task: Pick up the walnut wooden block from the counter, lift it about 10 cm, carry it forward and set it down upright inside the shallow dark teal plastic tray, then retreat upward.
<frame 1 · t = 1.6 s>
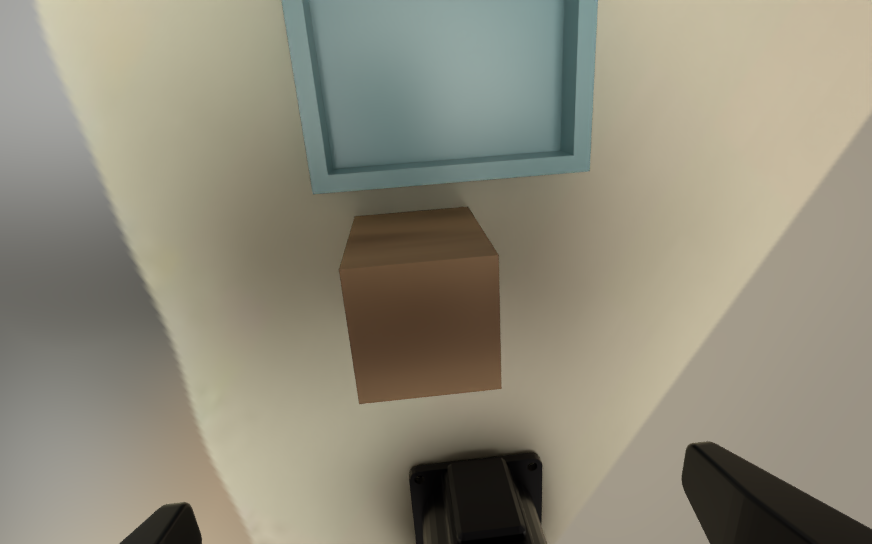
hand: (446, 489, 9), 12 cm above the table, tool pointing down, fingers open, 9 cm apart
walnut block: (416, 264, 20), on the table
teal tray: (439, 34, 17), on the table
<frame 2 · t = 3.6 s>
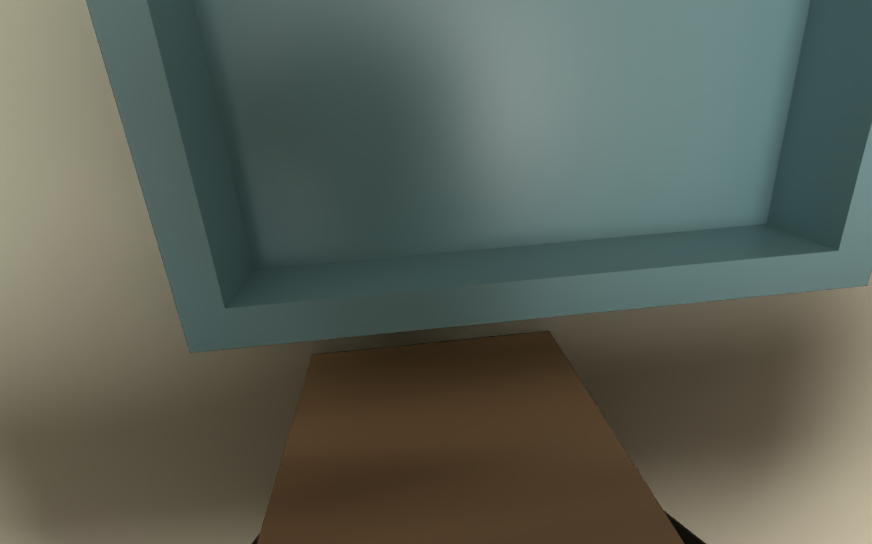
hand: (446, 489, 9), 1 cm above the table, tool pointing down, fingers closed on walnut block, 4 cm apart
walnut block: (439, 437, 10), on the table, touching gripper
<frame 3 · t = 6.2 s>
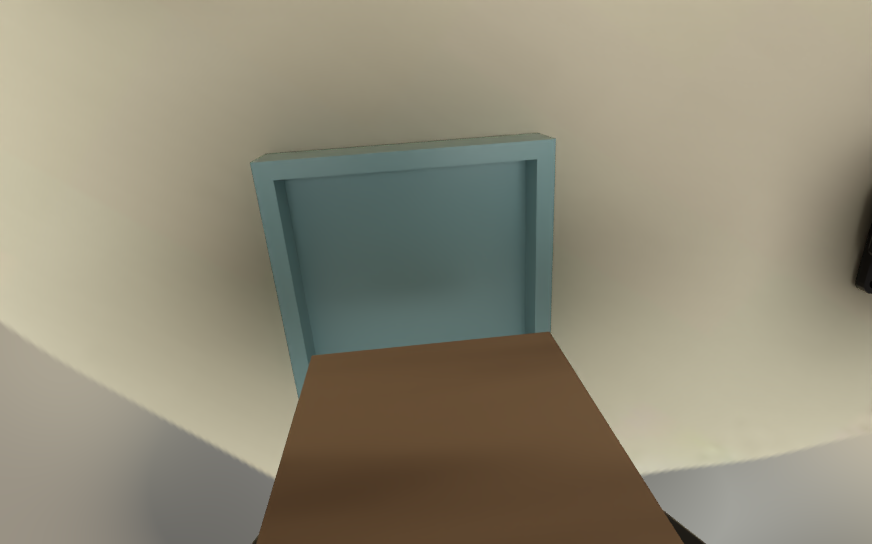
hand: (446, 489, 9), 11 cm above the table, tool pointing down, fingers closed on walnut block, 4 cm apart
walnut block: (439, 438, 10), point 10 cm above the table, touching gripper
teal tray: (415, 270, 19), on the table
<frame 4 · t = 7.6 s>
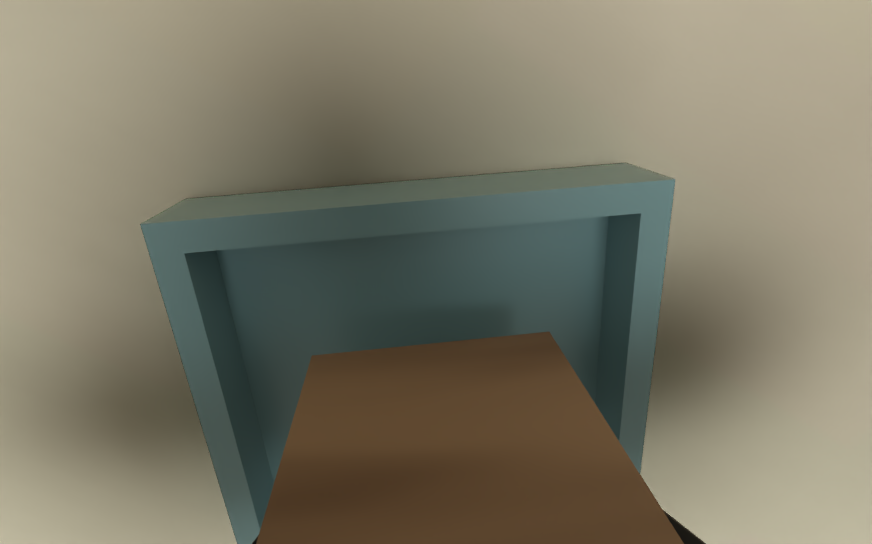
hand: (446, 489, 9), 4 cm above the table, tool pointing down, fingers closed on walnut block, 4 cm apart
walnut block: (439, 438, 10), point 3 cm above the table, touching gripper
teal tray: (427, 368, 12), on the table
when the fingers open (3 cm above the table, at t = 8.6 s): walnut block drops 1 cm, resting on teal tray.
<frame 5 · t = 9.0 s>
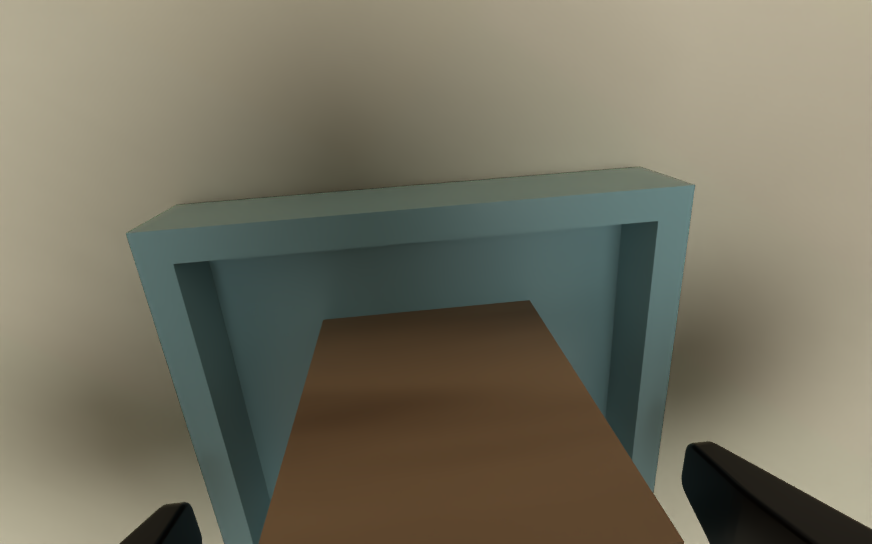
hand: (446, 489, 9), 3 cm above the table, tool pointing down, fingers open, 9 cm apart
walnut block: (434, 395, 11), point 1 cm above the table, touching teal tray
teal tray: (430, 381, 12), on the table
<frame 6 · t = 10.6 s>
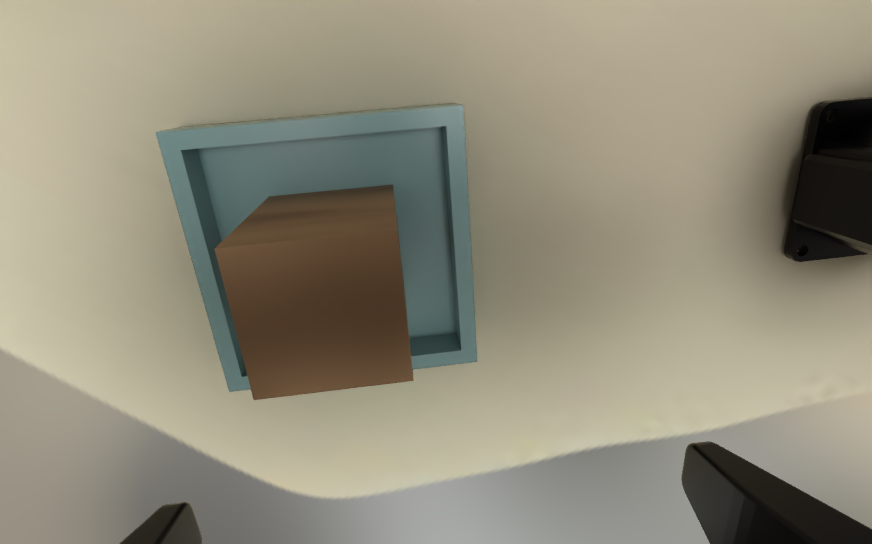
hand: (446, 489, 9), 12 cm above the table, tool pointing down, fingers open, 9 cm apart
walnut block: (340, 248, 18), point 1 cm above the table, touching teal tray
teal tray: (340, 243, 19), on the table
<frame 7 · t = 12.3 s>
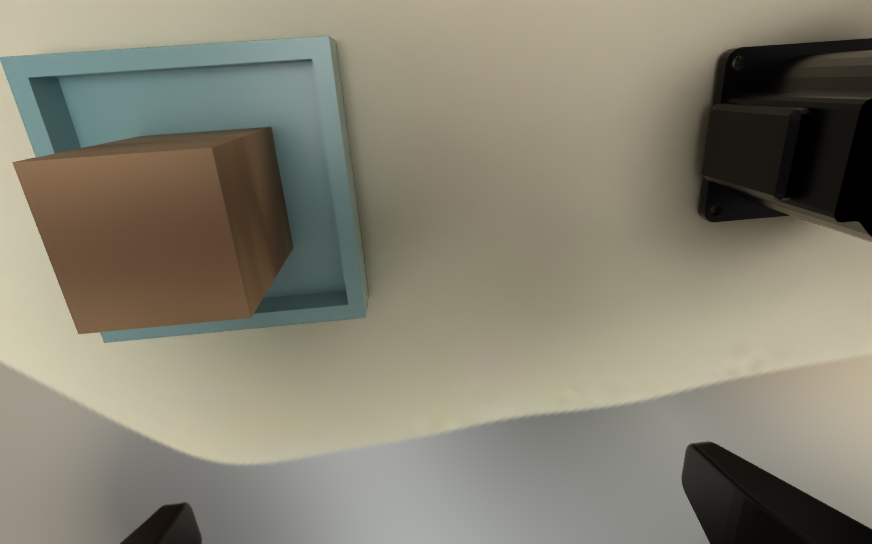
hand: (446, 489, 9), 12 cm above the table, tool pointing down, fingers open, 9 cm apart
walnut block: (220, 194, 18), point 1 cm above the table, touching teal tray
teal tray: (224, 191, 18), on the table
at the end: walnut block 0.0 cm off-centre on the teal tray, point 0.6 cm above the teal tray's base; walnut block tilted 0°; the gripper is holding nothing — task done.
